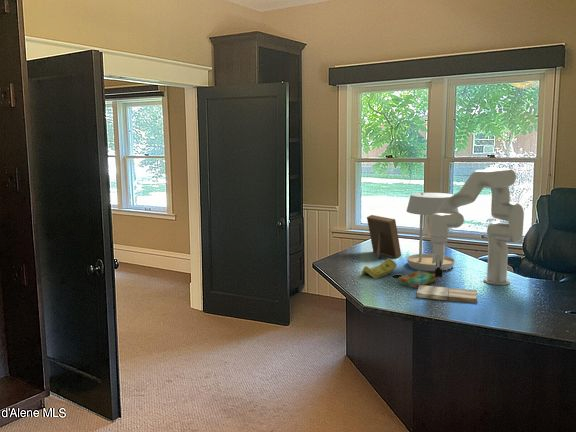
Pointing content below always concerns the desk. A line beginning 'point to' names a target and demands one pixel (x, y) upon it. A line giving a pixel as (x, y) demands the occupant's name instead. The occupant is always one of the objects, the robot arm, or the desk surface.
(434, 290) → the birch plank
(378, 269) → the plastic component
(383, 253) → the photo frame
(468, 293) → the oak floorboard
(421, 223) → the lamp
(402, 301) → the desk surface
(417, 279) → the puzzle game
